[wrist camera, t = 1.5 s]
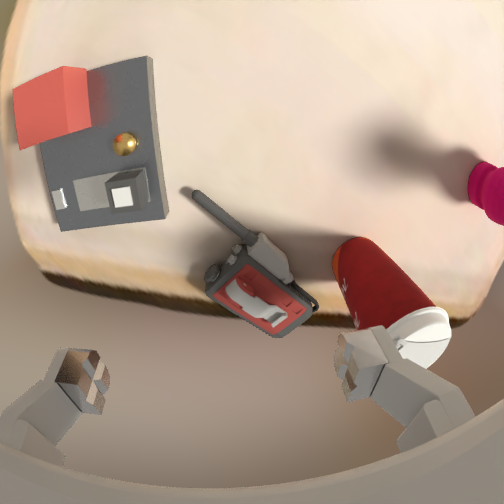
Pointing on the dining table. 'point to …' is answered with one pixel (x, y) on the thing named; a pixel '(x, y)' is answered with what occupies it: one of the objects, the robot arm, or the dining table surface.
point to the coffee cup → (390, 301)
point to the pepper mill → (488, 190)
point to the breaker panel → (108, 149)
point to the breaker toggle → (127, 192)
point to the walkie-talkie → (256, 280)
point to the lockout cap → (51, 106)
